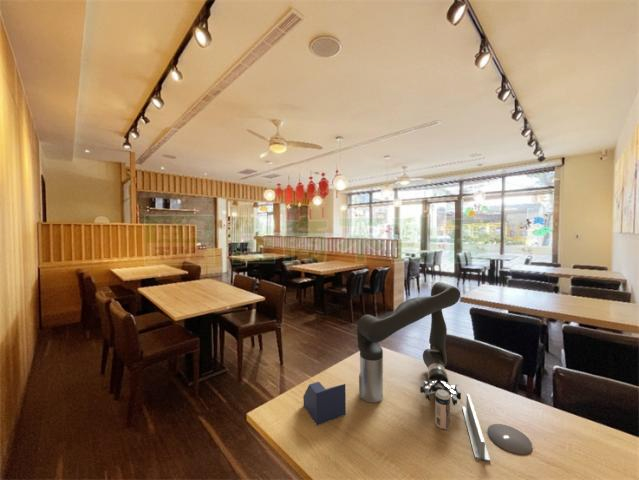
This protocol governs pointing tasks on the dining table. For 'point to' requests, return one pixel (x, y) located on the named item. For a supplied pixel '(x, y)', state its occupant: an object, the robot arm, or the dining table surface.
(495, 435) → the coaster
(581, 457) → the dining table surface
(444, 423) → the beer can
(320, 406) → the phone stand
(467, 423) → the low wall
